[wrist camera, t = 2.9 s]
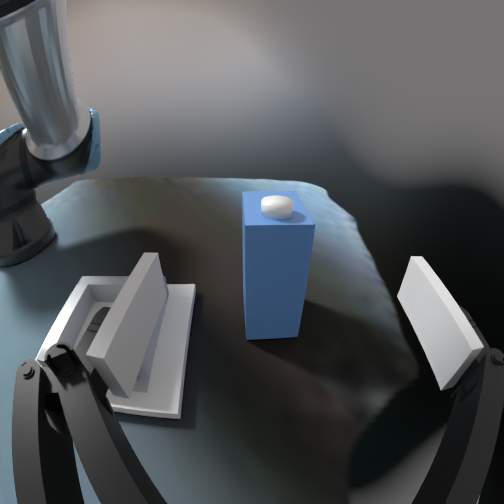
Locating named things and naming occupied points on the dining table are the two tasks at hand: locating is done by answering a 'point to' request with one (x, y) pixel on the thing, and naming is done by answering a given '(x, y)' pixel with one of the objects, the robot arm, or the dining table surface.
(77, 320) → the white square socket base
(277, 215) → the blue drink carton
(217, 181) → the dining table surface
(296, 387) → the dining table surface
